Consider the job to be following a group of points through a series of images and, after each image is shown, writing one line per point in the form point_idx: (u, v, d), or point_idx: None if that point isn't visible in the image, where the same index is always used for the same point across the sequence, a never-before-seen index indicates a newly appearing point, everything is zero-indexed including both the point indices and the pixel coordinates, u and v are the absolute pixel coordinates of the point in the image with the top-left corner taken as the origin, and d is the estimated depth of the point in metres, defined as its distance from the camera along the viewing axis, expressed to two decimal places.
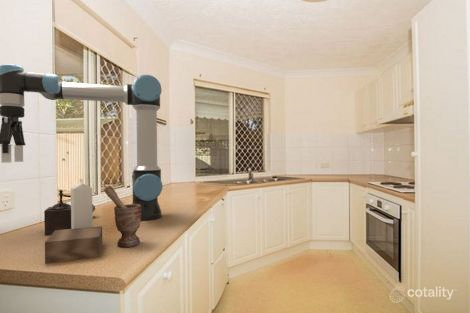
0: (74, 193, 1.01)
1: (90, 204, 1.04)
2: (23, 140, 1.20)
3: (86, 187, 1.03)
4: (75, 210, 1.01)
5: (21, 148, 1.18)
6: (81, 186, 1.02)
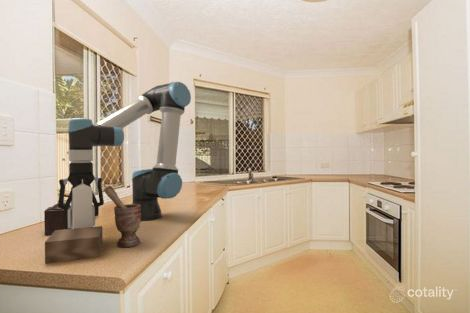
0: (74, 193, 1.01)
1: (90, 204, 1.04)
2: (100, 200, 1.06)
3: (86, 187, 1.03)
4: (75, 210, 1.01)
5: None
6: (81, 186, 1.02)
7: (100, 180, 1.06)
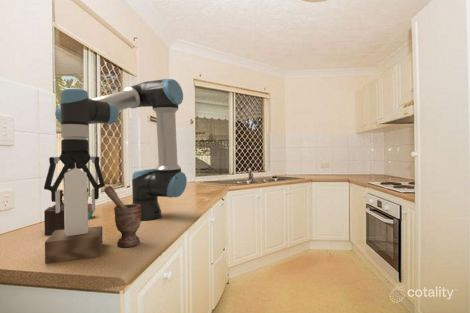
0: (66, 178, 0.88)
1: (84, 191, 0.91)
2: (100, 182, 0.93)
3: (79, 172, 0.90)
4: (67, 198, 0.88)
5: None
6: (74, 170, 0.89)
7: (97, 159, 0.93)
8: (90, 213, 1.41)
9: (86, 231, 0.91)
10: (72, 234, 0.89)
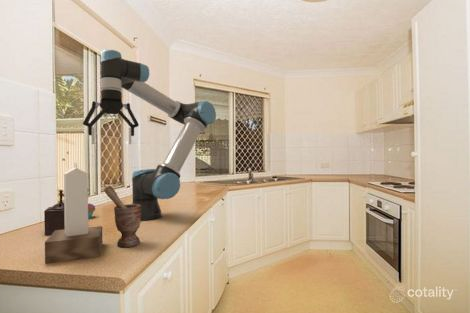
0: (66, 179, 0.88)
1: (85, 192, 0.90)
2: (135, 122, 1.19)
3: (80, 172, 0.90)
4: (67, 198, 0.88)
5: (129, 130, 1.18)
6: (75, 171, 0.89)
7: (128, 105, 1.18)
8: (90, 213, 1.41)
9: (86, 231, 0.91)
10: (72, 234, 0.89)
